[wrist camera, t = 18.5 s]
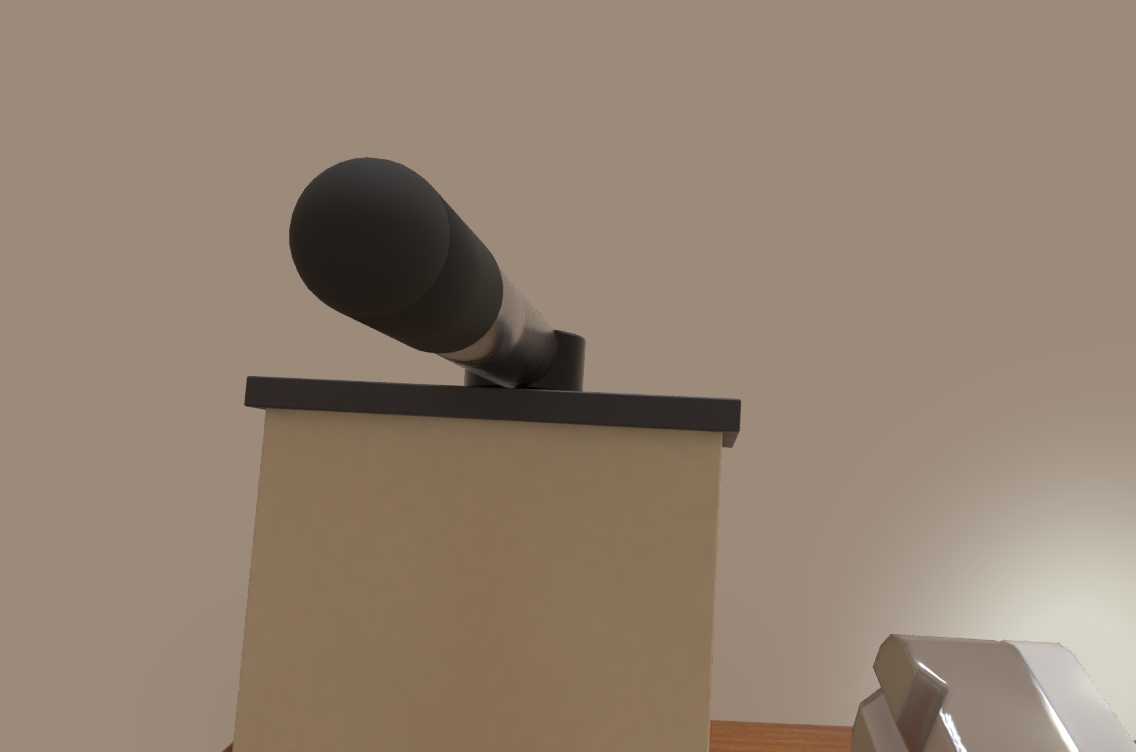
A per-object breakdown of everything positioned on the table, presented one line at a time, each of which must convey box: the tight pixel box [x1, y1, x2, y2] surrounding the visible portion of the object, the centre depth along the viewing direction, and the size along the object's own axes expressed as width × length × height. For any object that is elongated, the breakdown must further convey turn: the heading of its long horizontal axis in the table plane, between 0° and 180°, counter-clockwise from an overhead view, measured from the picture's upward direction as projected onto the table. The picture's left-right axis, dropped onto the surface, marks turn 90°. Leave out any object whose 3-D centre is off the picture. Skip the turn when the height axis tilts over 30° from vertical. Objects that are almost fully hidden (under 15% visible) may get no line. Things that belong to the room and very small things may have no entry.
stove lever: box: [289, 157, 586, 392], centre depth 22 cm, size 17×4×3 cm, turn 172°
